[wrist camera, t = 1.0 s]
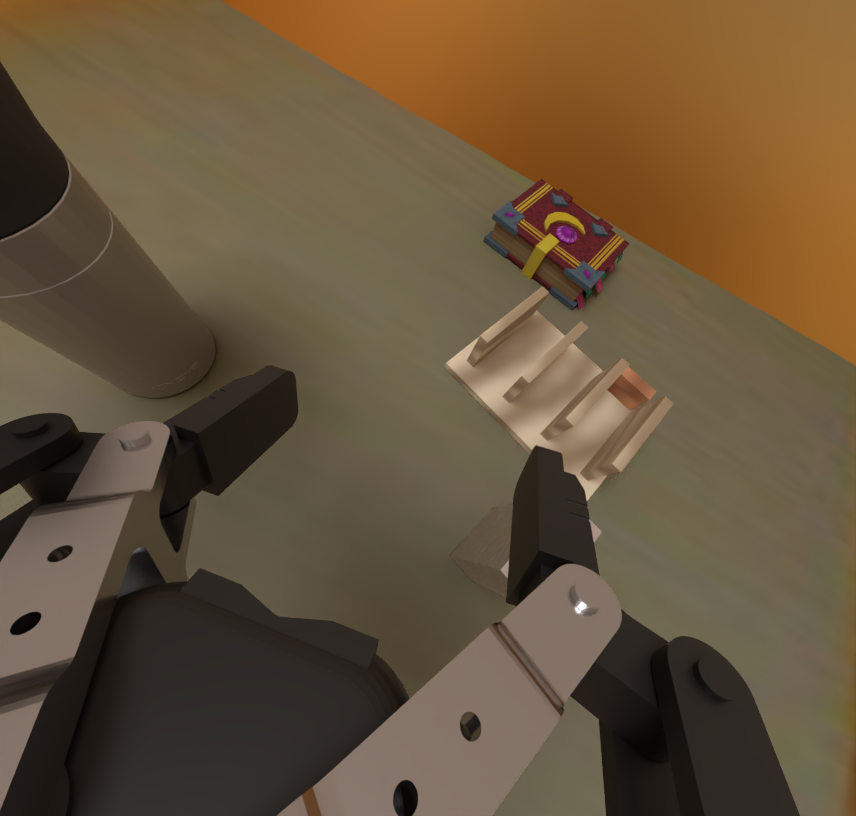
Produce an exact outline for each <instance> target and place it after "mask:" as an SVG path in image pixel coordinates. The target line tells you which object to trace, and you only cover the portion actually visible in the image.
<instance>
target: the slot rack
mask: <svg viewBox="0 0 856 816" xmlns="http://www.w3.org/2000/svg"><path fill="white" fill-rule="evenodd" d="M548 294H549V292H548V291H547V290H546V289H545V288H544V287H543V286H542V287H541V288H540V289H538V290H537V291H536V292H535V293H533V294H532V295H531V296H530V297H528V298H527V299H526V300H524V301H523V302H522V303H521V304H519V305H518V306H517V307H516V308H514V309H513V310H512V311H511V312H509V313H508V314H507V315H505V316H504V317H503V318H502V319H500V320H499V321H498V322H497V323H495V324H494V325H493V326H492V327H490V328H489V329H488V330H487V331H485V332H484V333H483V334H481V335H480V336H479V337H478V338H477V339H476V340H474V341H473V342H472V343H471V344H469V345H468V346H467V347H466V348H464V349H463V350H462V351H461V352H459V353H458V354H457V355H455V356H454V357H453V358H452V359H450V360H449V361H448V362H447V363H446V364H445V367H444V368H445V369H446V370H447V371H448V372H449V373H450V374H451V375H452V376H453V377H454V378H455V379H456V380H457V381H458V382H459V383H460V384H461V385H462V386H463V387H464V388H465V389H466V390H467V391H468V392H469V393H470V394H471V395H472V396H473V397H474V398H475V399H476V400H477V401H478V402H479V403H480V404H481V405H482V406H483V407H484V408H485V409H486V410H487V411H488V412H489V413H490V414H491V415H492V416H493V417H494V418H495V419H496V420H497V421H498V422H499V424H500V425H501V426H502V427H503V428H504V429H505V430H506V431H507V432H508V433H509V434H510V435H511V436H512V437H513V438H514V439H515V440H516V441H517V442H518V443H519V444H520V445H521V446H522V447H523V448H524V449H525V450H526V451H527V452H528V453H529V454H531V452H532V450H533V448H534V447H535V446H536V445H537V446H541V447H544V448H547V449H551V450H554V451H557V452H561V453H562V456H563V466H564V472H568V473H571V474H574V475H576V477H577V478H578V480H579V482H580V483H581V485H582V487H583V488H584V490H585V494H586V500H587V501H588V500H589V498H590V497H591V496H592V494H593V493H594V492H595V491H596V489H597V488H598V487H599V486H600V484H601V483H602V482H603V480H604V479H605V478H606V477H607V475H611V474H616V473H620V472H622V470H623V469H624V468H625V466H626V465H627V464H628V462H629V461H630V460H631V459H632V457H633V456H634V455H635V453H636V452H637V451H638V449H639V448H640V447H641V446H642V444H643V443H644V442H645V440H646V439H647V438H648V436H649V435H650V434H651V433H652V431H653V430H654V429H655V427H656V426H657V425H658V423H659V422H660V421H661V420H662V418H663V417H664V416H665V414H666V413H667V412H668V410H669V409H670V408H671V407H672V405H673V403H672V402H671V401H670V400H669V399H668V398H667V397H666V396H665V397H663V398H661V399H659V400H657V401H655V402H653V403H650V404H648V405H646V406H644V407H642V406H641V405H640V404H642V403H645V402H647V401H649V400H650V399H651V398H652V396H653V395H654V394H655V393H656V391H655V390H654V389H653V388H652V387H651V386H649V385H648V384H647V383H646V382H645V381H644V380H643V379H642V378H640V377H639V376H638V375H637V374H636V373H635V372H634V371H633V370H632V369H630V368H629V367H628V366H629V365H630V364H629V363H628V362H626V361H625V360H624V359H623V358H621V359H620V360H618V361H617V362H616V363H614V364H613V365H611V366H610V367H608V368H607V369H606V370H604V371H602V370H601V369H600V368H599V367H598V366H597V365H596V364H595V363H594V362H593V361H592V360H590V359H589V358H588V357H587V356H586V355H585V354H584V353H583V352H582V351H581V350H579V349H578V348H577V347H576V346H575V345H574V344H573V342H574V341H575V340H576V339H577V338H578V337H579V336H580V335H581V334H582V333H583V332H585V331H586V330H587V329H588V327H587V326H586V325H585V324H584V323H583V322H582V321H581V322H580V323H579V324H578V325H577V326H575V327H574V328H573V329H572V330H571V331H570V332H569V333H568V334H567V335H566V336H564V335H563V334H562V333H561V332H560V331H559V330H558V329H557V328H555V327H554V326H553V325H552V324H551V323H550V322H549V321H548V320H547V319H546V318H545V317H543V316H542V315H541V314H540V313H539V312H538V311H537V309H538V307H539V306H540V305H541V303H542V302H543V300H544V299H545V298H546V296H547V295H548Z"/></svg>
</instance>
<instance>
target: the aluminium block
mask: <svg viewBox="0 0 856 816" xmlns="http://www.w3.org/2000/svg"><path fill="white" fill-rule="evenodd" d="M512 511H513V504H510V505H505V506H500V507H496V508H492V509H491V510H490V511H489V512H488V513H487V515H486V516H485V517H484V518H483V519H482V520H481V521H480V522H479V523H478V524H477V525H476V527H475V528H474V529H473V530H472V531H471V532H470V533H469V534H468V535H467V536H466V537H465V538H464V540H463V541H462V542H461V543H460V544H459V545H458V546H457V547H456V548H455V549H454V550H453V552H452V553H451V554H450V556H451V557H452V558H453V560H454V561H455V562H456V563H457V564H458V565H459V567H460V568H461V569H462V570H463V571H464V572H465V573H466V575H467V576H468V577H469V578H470V579H471V580H472V581H473V582H475V583H477V584H479V585H481V586H483V587H485V588H487V589H489V590H491V591H493V592H495V593H497V594H499V595H501V596H503V597H505V598H506V596H507V582H508V567H509V553H510V539H511V525H512ZM589 522H590V523H591V529H592V535H593V541H594V542H595V541H596V539H597V538H598V537H599V535H600V534H601V531H600V530H599V528H598V527H597V526H596V525H595V524H594V523H593V522H592V521H591V520H590V519H589Z"/></svg>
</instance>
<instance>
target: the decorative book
mask: <svg viewBox="0 0 856 816" xmlns="http://www.w3.org/2000/svg"><path fill="white" fill-rule="evenodd" d="M572 199H573V197H571V196H570V195H569V194H567V193H566V192H564V191H563V190H562V189H561V190H559V191H557V190H556V189H554V188H553V187H551V186H550V185H549V184H547V183H546V182H545V181H543V180H542V179H541V180H540V181H539V182H537V183H536V184H535V185H533V186H532V187H531V188H529V189H528V190H527V191H525V192H524V193H523V194H522V195H520V196H519V197H518V198H516V199H515V200H514V201H512V202H511V201H510V202H508V203H507V204H506V205H504V206H503V207H502V208H500V209H499V210H498V211H496V212H495V213H494V214H493V217H492V219H493V220H494V221H496V225H495V227H494V230H493V231H491V232H490V233H489V234H488V235H486V236H485V238H484V242H485V243H487V244H488V245H489V246H490V247H492V248H493V249H494V250H496V251H497V252H498V253H500V254H501V255H502V256H503V257H505V258H506V257H508V258H509V259H510V260H511V261H513V262H514V263H515V264H517V265H518V266H519V267H520V268H522V271H521V272H522V273H523V274H524V275H526V276H527V277H528V278H529V279H531V278H532V277H533V278H534V279H536V280H537V281H538V282H539V283H541V284H542V285H543V286H545V287H546V288H547V289H548V290H549V291H548V292H549V293H550V294H552V295H553V296H554V297H555V298H557V299H558V300H559V301H560V302H562V303H563V304H564V305H565V306H567V307H568V308H569V309H570V310H572V309H573V308H574V307H575V306H576V305H577V303H578V308H579V310H580V309H581V308H582V307H583V305H584V300H583V297H584V296H585V295H586V293H587V298H588V296H589V295H590V294H591V293H592V287H593V286H594V284H595V283H596V282H597V283H596V288H597V291H598V293H599V292H600V290H601V289H602V288H603V286H602V283H601V281H602V280H603V279H604V278H605V277H606V273H605V271H606V270H607V269H608V267H609V270H610V272H611V271H612V269H613V268H614V261H615V260H616V258H617V257H618V261H617V263H618V262H619V261H620V260H621V258H622V254H623V253H622V252H623V251H624V249H625V248H626V247H627V246H628V245H629V243H628V242H627V241H625V240H624V239H623V238H621V237H620V236H618V235H617V234H616V233H614V232H613V231H612V230H611V229H612V228H613V226H611V225H610V224H609V223H607V222H606V221H604V220H603V219H602V218H600V219H599V220H597V219H595V218H594V217H593V216H591V215H590V214H588V213H587V212H586V211H584V210H583V209H582V208H580V207H579V206H577V205H576V204H575V203H573V202H572ZM610 272H609V273H610Z"/></svg>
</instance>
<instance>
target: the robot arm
mask: <svg viewBox="0 0 856 816" xmlns="http://www.w3.org/2000/svg"><path fill="white" fill-rule="evenodd" d="M0 320H1V321H3V322H5V323H7V324H8V325H10V326H12V327H14V328H15V329H17V330H19V331H21V332H22V333H24V334H26V335H28V336H29V337H31V338H33V339H35V340H36V341H38V342H40V343H42V344H43V345H45V346H47V347H49V348H50V349H52V350H54V351H56V352H57V353H59V354H61V355H63V356H64V357H66V358H68V359H70V360H71V361H73V362H75V363H77V364H79V365H80V366H82V367H84V368H86V369H87V370H89V371H91V372H92V373H94V374H96V375H98V376H99V377H101V378H103V379H105V380H106V381H108V382H110V383H112V384H113V385H115V386H117V387H119V388H121V389H122V390H124V391H126V392H128V393H130V394H133V395H135V396H140V397H144V398H161V397H168V396H172V395H175V394H178V393H181V392H183V391H185V390H187V389H189V388H191V387H192V386H193V385H195V384H196V383H198V382H199V381H200V380H201V379H202V378H203V377H204V376H205V375H206V374H207V372H208V371H209V369H210V368H211V366H212V364H213V361H214V358H215V351H216V347H215V341H214V339H213V337H212V334H211V333H210V331H209V330H208V329H207V328H206V327H205V325H204V324H203V323H202V322H201V320H200V319H199V318H198V317H197V315H196V314H195V313H194V312H193V311H192V309H191V308H190V307H189V305H188V304H187V303H186V302H185V300H184V299H183V298H182V297H181V296H180V294H179V293H178V292H177V291H176V289H175V288H174V287H173V286H172V285H171V283H170V282H169V281H168V280H167V278H166V277H165V276H164V275H163V274H162V272H161V271H160V270H159V269H158V267H157V266H156V265H155V264H154V263H153V261H152V260H151V259H150V258H149V256H148V255H147V254H146V253H145V252H144V250H143V249H142V248H141V247H140V245H139V244H138V243H137V242H136V241H135V239H134V238H133V237H132V236H131V234H130V233H129V232H128V231H127V230H126V228H125V227H124V226H123V225H122V223H121V222H120V221H119V220H118V219H117V217H116V216H115V215H114V214H113V212H112V211H111V210H110V209H109V208H108V206H107V205H106V204H105V203H104V202H103V201H102V199H101V198H100V197H99V196H98V195H97V193H96V192H95V191H94V190H93V188H92V187H91V186H90V185H89V184H88V182H87V181H86V180H85V179H84V177H83V176H82V175H81V174H80V173H79V171H78V170H77V169H76V168H75V167H74V165H73V164H72V163H71V162H70V160H69V159H68V158H67V157H66V156H65V154H64V153H63V152H62V151H61V150H60V148H59V147H58V146H57V145H56V143H55V142H54V141H53V140H52V138H51V137H50V136H49V135H48V133H47V132H46V131H45V130H44V128H43V127H42V126H41V125H40V123H39V122H38V120H37V119H36V117H35V116H34V114H33V113H32V111H31V109H30V108H29V106H28V105H27V103H26V101H25V100H24V98H23V97H22V95H21V93H20V92H19V90H18V89H17V87H16V85H15V84H14V82H13V81H12V79H11V78H10V76H9V74H8V73H7V71H6V70H5V68H4V67H3V65H2V64H1V62H0ZM297 415H298V402H297V390H296V378H295V375H294V373H293V372H291V371H288V370H285V369H281V368H278V367H274V366H271V365H269V366H266V367H264V368H263V369H261V370H260V371H258V372H257V373H255V374H253V375H250V376H246V377H243V378H240V379H237V380H234V381H232V382H230V383H229V384H227V385H225V386H224V387H222V388H220V391H218V390H217V391H216V392H214V393H212V394H211V395H209V397H208V398H207V397H206V398H204V399H202V400H201V401H199V402H197V403H196V404H194V405H192V406H191V407H189V408H188V409H186V410H184V411H183V412H181V413H179V414H178V415H176V416H174V417H173V418H171V419H169V420H168V421H166V422H164V423H160V422H155V421H140V422H134V423H129V424H126V425H123V426H120V427H118V428H115V429H113V430H112V431H110V432H108V433H107V434H102V433H87V432H79V430H78V429H77V427H76V425H75V424H74V422H73V420H72V419H71V418H70V417H69V416H67V415H64V414H58V413H44V414H36V415H31V416H27V417H23V418H19V419H16V420H14V421H11V422H9V423H6V424H4V425H2V426H0V494H2V493H3V492H5V491H7V490H8V489H10V488H12V487H14V486H15V485H17V484H19V483H20V485H21V486H22V487H23V488H24V489H25V491H26V492H27V493H28V494H29V496H30V497H31V498H32V499H33V500H32V501H30V502H29V503H27V504H25V505H24V506H22V507H21V508H19V509H18V510H16V511H15V512H13V513H11V514H10V515H8V516H7V517H5V518H4V519H2V520H1V521H0V816H492V815H493V814H494V812H495V811H496V810H497V808H498V807H499V805H500V804H501V802H502V801H503V800H504V798H505V797H506V795H507V794H508V793H509V791H510V790H511V788H512V787H513V786H514V784H515V783H516V781H517V780H518V779H519V777H520V776H521V774H522V773H523V771H524V770H525V769H526V767H527V766H528V764H529V763H530V762H531V760H532V759H533V757H534V756H535V755H536V753H537V752H538V750H539V749H540V748H541V746H542V745H543V743H544V742H545V740H546V739H547V738H548V736H549V735H550V733H551V732H552V731H553V729H554V728H555V726H556V725H557V723H558V722H559V720H560V718H561V716H562V714H563V712H564V709H563V706H564V704H565V702H566V701H567V699H568V698H569V696H571V697H572V698H573V699H575V700H576V701H577V702H578V703H580V704H581V705H582V706H583V707H585V708H586V709H587V710H588V711H589V712H591V713H592V714H593V715H594V716H596V717H597V718H598V719H599V727H600V740H601V753H602V767H603V780H604V793H605V806H606V816H800V815H799V812H798V810H797V807H796V804H795V802H794V799H793V797H792V794H791V792H790V789H789V787H788V784H787V781H786V779H785V776H784V774H783V771H782V769H781V766H780V764H779V761H778V759H777V756H776V753H775V751H774V748H773V746H772V743H771V741H770V738H769V736H768V733H767V731H766V728H765V725H764V723H763V720H762V718H761V715H760V713H759V710H758V708H757V705H756V702H755V700H754V698H753V696H752V693H751V691H750V690H749V688H748V686H747V684H746V683H745V681H744V680H743V678H742V677H741V675H740V674H739V673H738V672H737V670H736V669H735V668H734V667H733V666H732V665H731V664H730V663H729V662H728V660H727V659H725V658H724V657H723V656H722V655H721V654H720V653H719V652H717V651H716V650H715V649H713V648H712V647H711V646H709V645H707V644H706V643H704V642H702V641H700V640H698V639H695V638H692V637H687V636H680V637H677V638H674V639H673V640H672V641H670V642H667V641H666V640H664V639H663V638H661V637H660V636H658V635H657V634H655V633H654V632H652V631H651V630H649V629H648V628H646V627H645V626H643V625H642V624H640V623H639V622H637V621H636V620H634V619H633V618H632V617H630V616H629V615H627V614H626V613H625V612H624V611H623V610H622V609H621V607H620V604H619V601H618V599H617V597H616V595H615V594H614V592H613V590H612V589H611V588H610V586H609V585H608V584H607V583H606V582H605V581H604V580H603V579H602V578H601V577H600V575H599V570H598V564H597V559H596V553H595V547H594V541H593V535H592V529H591V523H590V522H589V519H590V518H589V512H588V509H587V500H586V494H585V490H584V488H583V487H582V485H581V483H580V482H579V480H578V478H577V477H576V475H574V474H571V473H568V472H564V466H563V456H562V453H561V452H557V451H554V450H551V449H547V448H544V447H541V446H537V445H536V446H535V447H534V448H533V450H532V452H531V454H530V456H529V458H528V460H527V462H526V465H525V467H524V469H523V471H522V473H521V475H520V477H519V480H518V482H517V485H516V488H515V493H514V498H513V511H512V525H511V539H510V553H509V567H508V582H507V596H506V603H509V604H512V605H514V606H517V607H516V608H515V609H513V610H512V611H511V612H510V613H509V614H508V615H507V616H506V617H505V618H504V619H503V620H501V621H500V622H499V623H494V624H492V625H491V626H489V627H488V628H487V629H486V630H485V631H483V632H482V633H481V634H480V635H479V636H478V637H477V638H476V639H475V640H474V641H472V642H471V643H470V644H469V645H468V646H467V647H466V648H465V649H464V650H463V651H462V652H460V653H459V654H458V655H457V656H456V657H455V658H454V659H453V660H452V661H451V662H450V663H448V664H447V665H446V666H445V667H444V668H443V669H442V670H441V671H440V672H439V673H438V674H436V675H435V676H434V677H433V678H432V679H431V680H430V681H429V682H428V683H427V684H425V685H424V686H423V687H422V688H421V689H420V690H419V691H418V692H417V693H416V694H415V695H413V696H412V697H411V698H409V696H408V694H407V692H406V690H405V688H404V686H403V685H402V683H401V681H400V680H399V678H398V677H397V676H396V674H395V673H394V671H393V670H392V669H391V668H390V667H389V666H388V664H387V663H386V662H385V661H384V660H382V659H381V658H380V657H379V656H378V655H377V654H376V651H377V646H378V639H375V638H373V637H370V636H368V635H365V634H363V633H360V632H358V631H355V630H353V629H350V628H348V627H345V626H343V625H340V624H338V623H335V622H333V621H324V620H312V619H300V618H287V617H279V616H277V615H275V614H274V613H272V612H271V611H270V610H269V609H268V608H267V607H266V606H264V605H263V604H262V603H261V602H260V601H259V600H258V599H257V598H256V597H254V596H253V595H252V594H251V593H250V592H249V591H248V590H247V589H245V588H244V587H243V586H242V585H241V584H238V583H236V582H233V581H231V580H228V579H226V578H223V577H221V576H218V575H216V574H213V573H211V572H208V571H206V570H203V569H201V568H200V569H199V570H198V571H197V572H196V573H195V574H194V575H193V576H192V577H191V578H190V580H189V581H187V573H186V556H187V551H188V545H189V540H190V535H191V529H192V524H193V518H194V513H195V508H196V499H195V496H196V495H197V494H198V493H199V492H200V491H201V490H203V491H206V492H209V493H211V494H214V495H217V496H219V495H220V494H221V493H222V492H223V491H224V490H225V489H226V488H227V487H228V486H229V485H230V484H231V483H232V482H233V481H234V480H236V479H237V478H238V477H239V476H240V475H241V474H242V473H243V472H244V471H245V470H246V469H247V468H248V467H249V466H250V465H251V464H253V463H254V462H255V461H256V460H257V459H258V458H259V457H260V456H261V455H262V454H263V453H264V452H265V451H266V450H267V449H268V448H270V447H271V446H272V445H273V444H274V443H275V442H276V441H277V440H278V439H279V438H280V437H281V436H282V435H283V434H284V433H285V432H287V431H288V430H289V429H290V428H291V427H292V426H293V424H294V423H295V421H296V418H297Z"/></svg>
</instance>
